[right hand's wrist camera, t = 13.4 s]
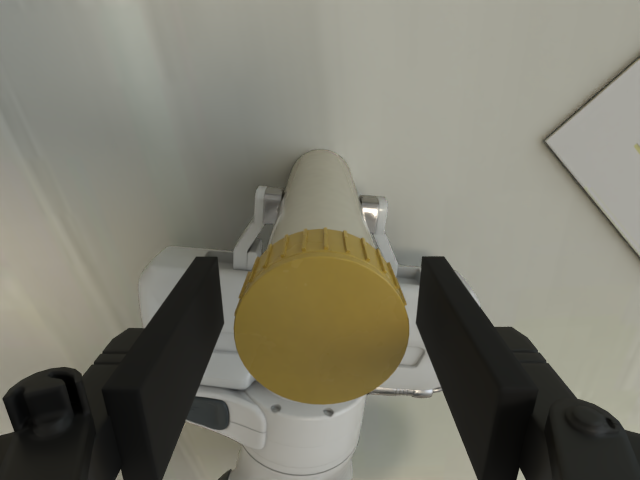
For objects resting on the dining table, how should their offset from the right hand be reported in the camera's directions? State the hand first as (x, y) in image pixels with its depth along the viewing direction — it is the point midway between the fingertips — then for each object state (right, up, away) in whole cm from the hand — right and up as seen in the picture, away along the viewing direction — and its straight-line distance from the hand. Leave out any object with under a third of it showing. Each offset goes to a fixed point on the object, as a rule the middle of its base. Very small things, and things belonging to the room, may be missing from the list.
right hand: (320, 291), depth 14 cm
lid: (0, -1, -3) cm, 3 cm away
